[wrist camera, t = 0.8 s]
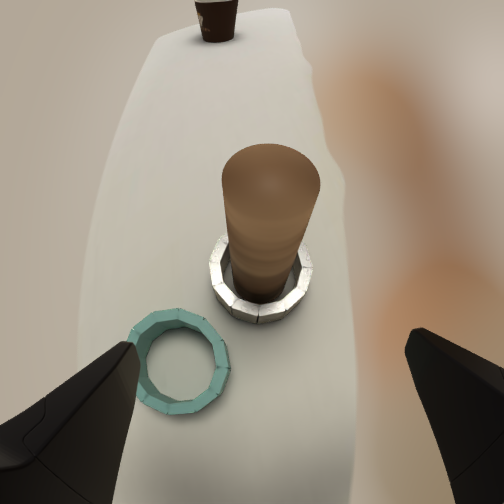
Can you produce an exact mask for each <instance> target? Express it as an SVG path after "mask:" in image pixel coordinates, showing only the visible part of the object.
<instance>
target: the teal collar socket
mask: <svg viewBox="0 0 504 504" xmlns="http://www.w3.org/2000/svg"><path fill="white" fill-rule="evenodd" d="M153 313H154V314H153ZM153 313H150V314H149V315H148V316H147V317H145V318H144V319H143V320H142V321H140V322H139V323H138V324H136V325H135V326H134V327H133V329H134V330H133V329H131V331H130V334H129V336H128V339H127V342H133V343H134V344H135V346H136V350H137V353H138V356H139V359H140V363H141V368H140V374H139V380H138V386H137V392H136V396H137V397H138V398H139V400H140V401H141V402H143V404H145V405H147V406H149V407H151V408H154V409H156V410H158V411H160V412H162V413H164V414H166V415H167V414H168V415H174V414H186V413H195V412H197V411H199V410H200V409H202V408H204V407H205V406H206V405H207V404H209V403H210V402H211V401H213V400H214V399H215V398H217V397H218V396H219V395H220V394H222V392H223V390H224V387H225V384H226V382H227V379H228V376H229V374H230V371H231V370H229V369H231V367H230V362H229V357H228V351H227V346H226V344H225V342H224V340H223V339H222V338H221V336H220V335H219V334H218V333H217V332H216V331H215V329H214V328H213V327H212V326H211V325H210V323H209V322H208V321H207V320H206V319H205V318H204V317H201V316H199V315H196V314H193V313H191V312H188V311H186V310H183V309H178V308H175V309H168V310H162V311H155V312H153ZM180 327H188V328H190V329H193V330H196V331H198V332H201V333H203V334H204V335H205V336H206V337H207V339H208V340H209V341H210V342H211V343H212V345H213V351H214V356H215V362H216V370H215V372H214V375H213V378H212V380H211V383H210V386H209V388H208V389H207V390H206V391H204V392H203V393H202V394H200V395H199V396H198V397H196V398H195V399H194V400H185V401H177V400H175V399H172V398H170V397H168V396H165V395H163V394H161V393H160V392H159V391H158V390H157V388H156V387H155V386H154V384H153V383H152V382H151V380H150V379H149V378H148V373H147V366H146V356H147V353H148V351H149V348H150V346H151V343H152V341H153V340H154V339H155V338H157V337H158V336H159V335H161V334H162V333H163V332H164V331H166V330H167V329H174V328H180Z"/></svg>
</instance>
